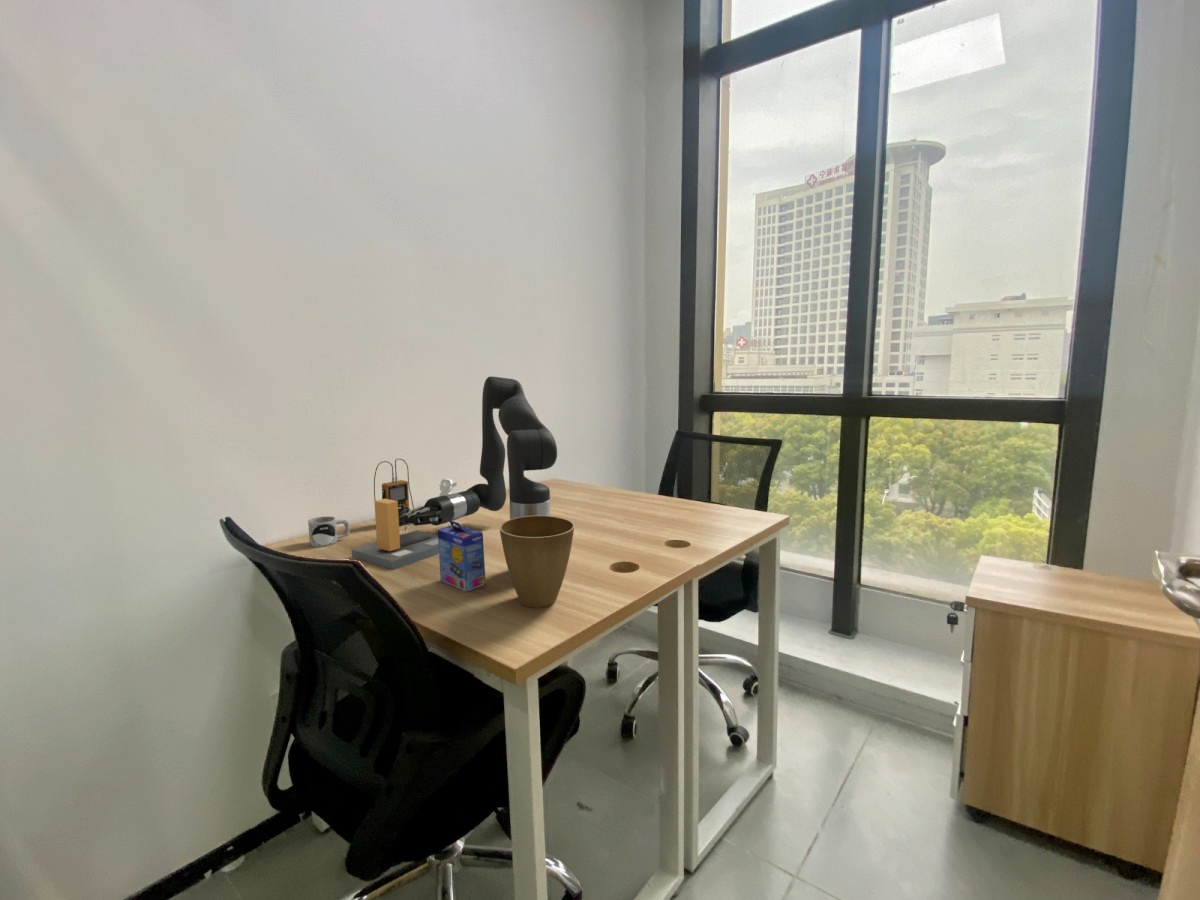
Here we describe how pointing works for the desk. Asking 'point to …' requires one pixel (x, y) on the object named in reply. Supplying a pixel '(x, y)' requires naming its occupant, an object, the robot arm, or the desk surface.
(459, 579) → the ink cartridge box
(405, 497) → the multimeter
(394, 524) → the switch tab
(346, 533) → the mug
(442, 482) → the white creature statuette
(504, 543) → the plant pot
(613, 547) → the desk surface
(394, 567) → the switch panel
